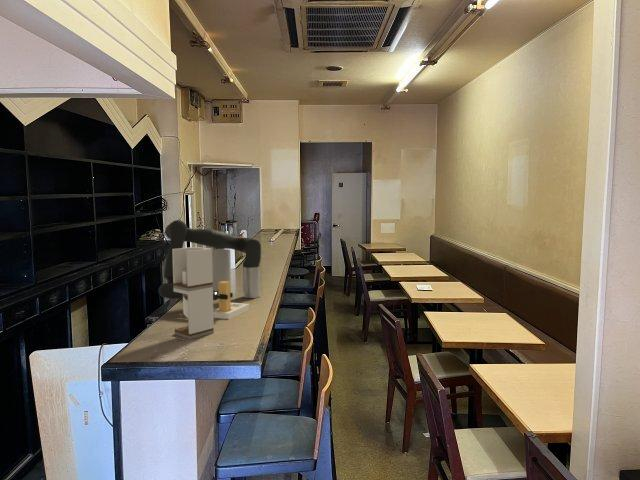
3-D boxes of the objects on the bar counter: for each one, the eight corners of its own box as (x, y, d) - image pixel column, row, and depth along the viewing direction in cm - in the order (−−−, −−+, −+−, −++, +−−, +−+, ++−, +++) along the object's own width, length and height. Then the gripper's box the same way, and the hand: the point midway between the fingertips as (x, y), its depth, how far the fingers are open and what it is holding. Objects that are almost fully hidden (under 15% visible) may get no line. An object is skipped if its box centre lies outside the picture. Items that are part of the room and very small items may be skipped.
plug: (223, 312, 216) (222, 281, 215) (230, 312, 215) (230, 281, 214) (218, 314, 213) (218, 282, 211) (226, 314, 211) (225, 283, 210)
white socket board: (231, 308, 230) (231, 302, 229) (249, 309, 227) (249, 304, 226) (209, 318, 211) (209, 311, 210) (229, 320, 208) (228, 313, 207)
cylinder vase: (215, 295, 260) (215, 252, 258) (205, 292, 270) (204, 250, 267) (235, 292, 268) (234, 250, 266) (224, 289, 278) (223, 248, 276)
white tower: (198, 328, 195) (196, 246, 191) (213, 332, 188) (212, 248, 185) (174, 334, 186) (172, 249, 183) (190, 339, 179) (187, 251, 176)
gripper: (189, 288, 210) (222, 291, 205) (206, 283, 224) (237, 285, 218) (189, 304, 211) (222, 307, 206) (206, 298, 225) (237, 300, 219)
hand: (229, 296), depth 212 cm, fingers closed on plug, 4 cm apart
